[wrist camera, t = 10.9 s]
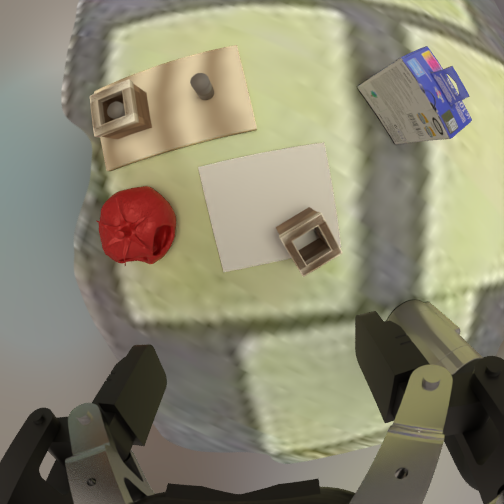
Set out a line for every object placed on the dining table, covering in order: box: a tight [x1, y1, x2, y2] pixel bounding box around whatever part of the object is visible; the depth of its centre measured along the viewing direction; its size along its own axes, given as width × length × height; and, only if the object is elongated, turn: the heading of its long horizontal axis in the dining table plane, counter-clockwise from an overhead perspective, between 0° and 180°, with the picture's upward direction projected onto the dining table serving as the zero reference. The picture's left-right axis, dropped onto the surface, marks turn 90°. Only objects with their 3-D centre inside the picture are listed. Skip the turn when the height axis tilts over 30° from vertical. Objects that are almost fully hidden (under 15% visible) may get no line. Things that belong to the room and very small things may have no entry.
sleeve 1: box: [90, 79, 152, 139], centre depth 27 cm, size 5×5×6 cm
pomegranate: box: [97, 186, 176, 266], centre depth 31 cm, size 10×10×9 cm
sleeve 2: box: [276, 207, 342, 277], centre depth 33 cm, size 5×5×6 cm
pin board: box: [94, 45, 257, 171], centre depth 28 cm, size 20×12×6 cm, turn 102°
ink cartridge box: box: [357, 46, 472, 144], centre depth 24 cm, size 10×6×14 cm, turn 37°
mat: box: [198, 143, 341, 272], centre depth 35 cm, size 16×14×1 cm
